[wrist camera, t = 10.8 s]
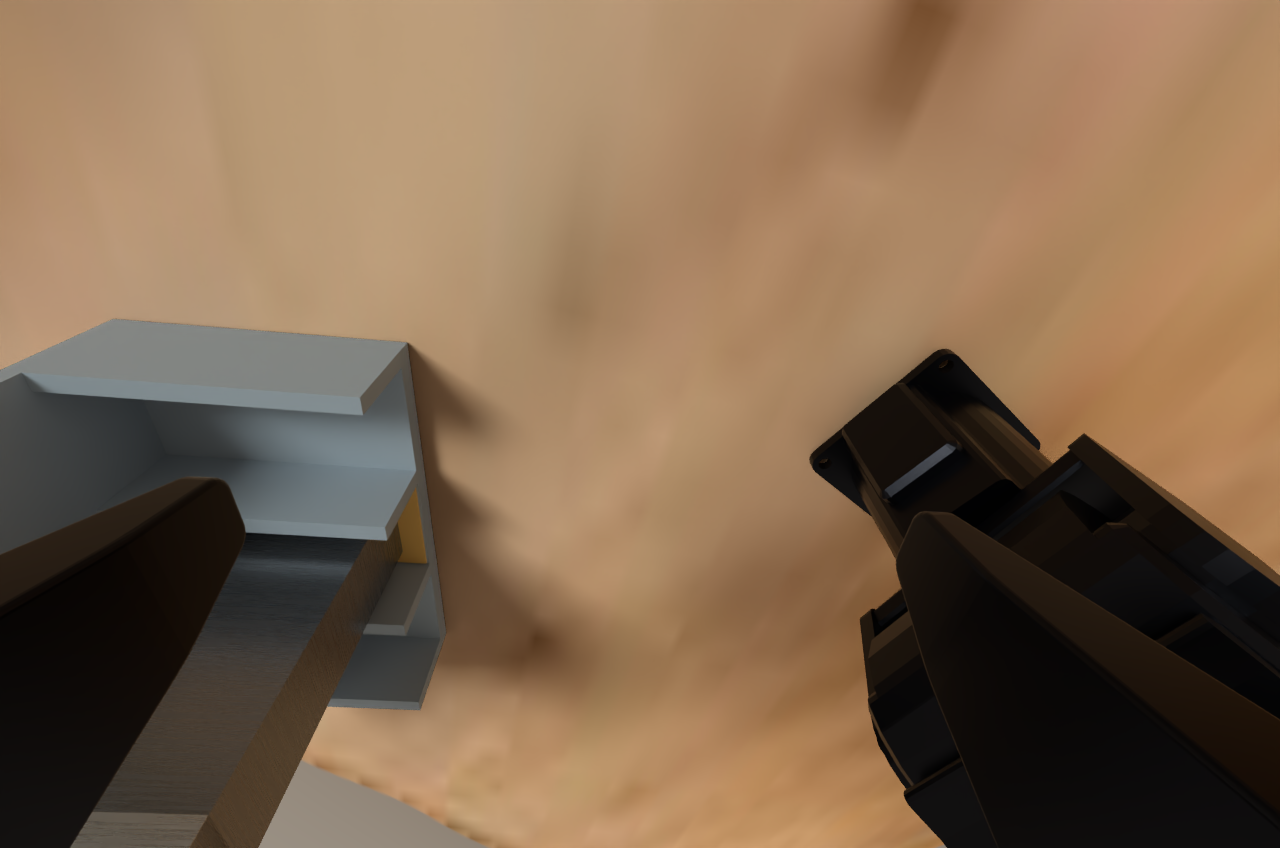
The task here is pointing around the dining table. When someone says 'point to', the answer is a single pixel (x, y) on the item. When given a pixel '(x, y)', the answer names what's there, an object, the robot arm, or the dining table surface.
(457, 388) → the dining table surface
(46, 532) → the rack
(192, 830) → the grey rectangular block
